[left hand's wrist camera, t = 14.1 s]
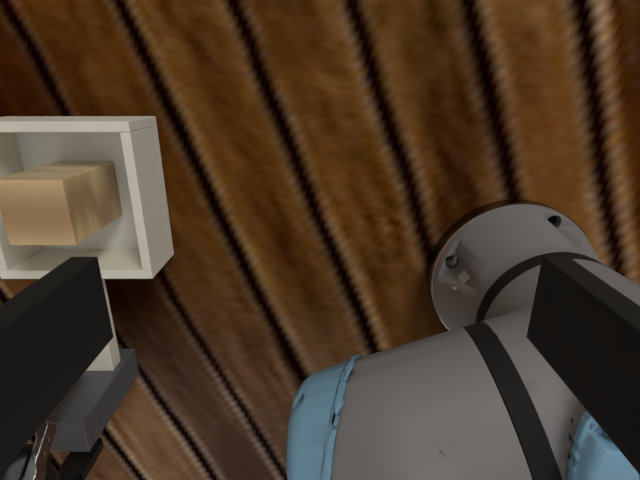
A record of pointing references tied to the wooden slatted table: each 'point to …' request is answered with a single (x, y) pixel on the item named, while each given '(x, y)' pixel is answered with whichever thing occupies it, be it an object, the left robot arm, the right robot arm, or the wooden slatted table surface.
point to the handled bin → (94, 241)
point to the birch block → (59, 202)
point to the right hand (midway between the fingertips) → (83, 403)
